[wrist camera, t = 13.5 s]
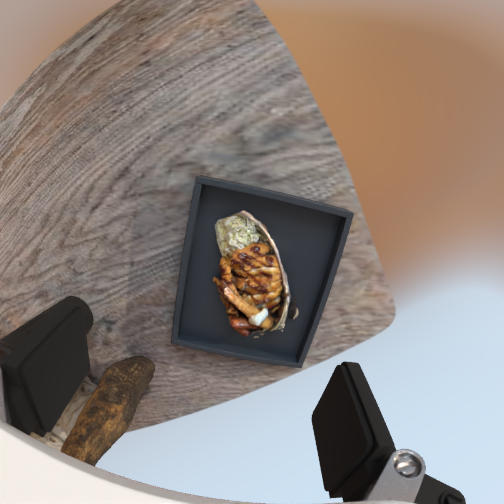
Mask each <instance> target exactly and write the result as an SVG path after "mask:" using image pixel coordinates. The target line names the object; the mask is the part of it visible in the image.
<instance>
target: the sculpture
mask: <svg viewBox="0 0 504 504" xmlns="http://www.w3.org/2000/svg"><path fill="white" fill-rule="evenodd" d="M154 371H155V366H154V364H153V362H152V361H151V360H149V359H147V358H145V357H142V356H133V357H130V358H127V359H125V360H122V361H119V362H117V363H115V364H113V365H111V366H110V367H109V368H108V369H106V371H105V372H104V373H103V375H102V378H101V380H100V381H99V383H98V386H97V387H96V389H95V390H94V392H93V393H92V395H91V397H90V398H89V399H88V401H87V402H86V404H85V405H84V407H83V409H82V411H81V413H80V414H79V416H78V418H77V421H76V423H75V425H74V426H73V428H72V430H71V432H70V433H69V435H68V437H67V438H66V440H65V442H64V444H63V445H62V447H61V451H60V452H62V453H64V454H66V455H68V456H71V457H73V458H75V459H77V460H80V461H82V462H84V463H87V464H89V465H92V466H94V467H95V465H96V463H97V462H98V460H99V459H100V458H101V457H102V456H103V455H104V453H106V452H107V451H108V450H109V449H110V448H111V446H112V445H113V444H114V443H115V442H116V441H117V440H118V439H119V438H120V437H121V436H122V435H123V434H124V433H125V432H126V430H127V429H128V427H129V425H130V423H131V421H132V419H133V416H134V414H135V411H136V408H137V405H138V403H139V402H140V400H141V398H142V396H143V393H144V391H145V389H146V387H147V386H148V384H149V382H150V381H151V379H152V378H153V373H154Z"/></svg>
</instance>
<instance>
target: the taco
mask: <svg viewBox="0 0 504 504" xmlns="http://www.w3.org/2000/svg"><path fill="white" fill-rule="evenodd" d="M215 230H216V237H217V243H218V246H219V249H220V252H221V254H222V258H221V260H220V263H219V269H220V273H221V277H222V281H221V280H219V278H215V277H214V278H213V281H214V283H216V285H217V288H218V292H219V295H220V298H221V300H222V302H223V304H224V305H225V307H226V311H227V314H228V317H229V323H230V325H231V327H232V328H233V329H234V330H235V331H236V332H238V333H239V334H240V335H242V336H244V337H248V336H250V335H251V334H252V333H254V332H260V334H261V335H263V334H264V333H263V334H262V333H261V332H263V331H265V330H266V329H267V330H269V331H273V330H274V329H275V330H280V329H281V328H284V327H285V324H284V323H285V320H286V317H287V314H288V317H289V319H295V318H296V317H297V316H298V313H299V312H298V309H297V307H296V306H295V305H296V304H295V303H296V297H295V296H294V295H292V296H291V294H290V290H289V286H288V282H287V275H286V273H285V271H284V268H283V265H282V263H281V261H280V258H279V250H278V249H277V248H276V245H275V243H274V241H273V239H271V238H270V235H269V233H268V231H267V228H266V226H265V225H264V224H263V223H262V222H261V221H259V220H256V219H255V218H254V217H253V215H251V213H248V212H246V211H241V212H239V213H236V214H234V215H231V216H229V217H226V218H223V219H220V220H218V221H217V223H216V224H215ZM288 308H289V309H288ZM288 310H289V311H288ZM279 317H280V319H279ZM278 319H279V320H278ZM281 331H283V330H281ZM254 338H259V337H258V336H257V337H254Z"/></svg>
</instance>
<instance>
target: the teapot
mask: <svg viewBox="0 0 504 504" xmlns="http://www.w3.org/2000/svg"><path fill="white" fill-rule="evenodd" d="M97 386H98V385H96V384H94V383H92V382H91V381H90V378H89V377H88V376H86V377H85V379H84V380H83V382H82V383H81V385H80V386H79V388H78V389H77V391H76V393H75V394H74V396H73V397H72V399H71V400H70V402H69V404H68V405H67V407H66V408H65V410H64V412H63V413H62V415H61V416H60V418H59V420H58V421H57V423H56V425H55V426H54V428H53V430H52V431H51V432H50V433H48V432H47V433H46V434H45V436H44V438H42V437H41V436H39V435H37V434H35V433H33V432H31V434H30V435H29V436H31V437H32V438H34V439H36V440H38V441H40V442H42V443H44V444H46V445H48V446H50V447H52V448H54V449H56V450H58V451H61V447H62V445H63V444H64V442H65V440H66V438H67V437H68V435H69V433H70V432H71V430H72V428H73V426H74V425H75V423H76V421H77V418H78V416H79V414H80V413H81V411H82V409H83V407H84V405H85V404H86V402H87V401H88V399H89V398H90V397H91V395H92V393H93V392H94V390H95V389H96V387H97Z"/></svg>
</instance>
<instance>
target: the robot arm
mask: <svg viewBox="0 0 504 504" xmlns="http://www.w3.org/2000/svg"><path fill="white" fill-rule="evenodd" d="M89 369H90V363H89V355H88V347H87V337H86V326H85V314H84V311H82V310H81V307H80V306H79V305H77V304H74V303H71V302H68V301H66V302H64V303H63V304H62V305H61V306H60V307H59V308H58V309H56V310H55V311H54V312H53V313H52V314H51V315H50V316H49V317H48V318H47V319H45V320H44V321H43V322H42V323H41V324H40V325H39V326H38V327H37V328H36V329H35V330H34V331H33V332H32V333H31V334H29V335H28V336H27V337H26V338H25V339H24V340H23V341H22V342H21V343H20V344H19V345H18V346H17V347H16V348H15V349H14V350H13V351H12V352H11V353H10V354H9V355H8V356H7V357H6V358H5V359H4V360H3V364H2V365H1V366H0V504H265V503H249V502H239V501H229V500H222V499H214V498H208V497H202V496H196V495H191V494H186V493H181V492H176V491H172V490H168V489H163V488H159V487H156V486H152V485H148V484H144V483H141V482H138V481H134V480H131V479H128V478H125V477H122V476H118V475H116V474H113V473H110V472H107V471H105V470H102V469H99V468H97V467H94V466H92V465H89V464H87V463H84V462H82V461H80V460H77V459H75V458H73V457H71V456H68V455H66V454H64V453H62V452H60V451H58V450H56V449H54V448H52V447H50V446H48V445H46V444H44V443H42V442H40V441H38V440H36V439H34V438H32V437H31V436H29V435H30V434H31V432H33V433H35V434H37V435H39V436H41V437H42V438H44V436H45V434H46V433H47V432H48V433H50V432H51V431H52V430H53V428H54V426H55V425H56V423H57V421H58V420H59V418H60V416H61V415H62V413H63V412H64V410H65V408H66V407H67V405H68V404H69V402H70V400H71V399H72V397H73V396H74V394H75V393H76V391H77V389H78V388H79V386H80V385H81V383H82V382H83V380H84V379H85V377H86V376H87V374H88V372H89ZM312 425H313V430H314V435H315V440H316V446H317V451H318V456H319V462H320V467H321V473H322V478H323V484H324V489H325V490H326V491H329V495H330V498H340V497H342V498H343V502H342V503H327V504H466V502H465V498H464V496H463V495H462V494H461V492H460V491H458V490H456V489H454V488H452V487H450V486H448V485H446V484H444V483H442V482H440V481H438V480H436V479H434V478H432V477H430V476H428V475H427V474H425V470H426V466H425V462H424V460H423V458H422V457H421V456H420V455H419V454H417V453H416V452H414V451H412V450H409V449H400V450H397V451H396V448H395V446H394V442H393V440H392V437H391V435H390V433H389V430H388V428H387V426H386V423H385V421H384V418H383V416H382V414H381V411H380V409H379V407H378V405H377V402H376V400H375V398H374V396H373V394H372V391H371V389H370V387H369V384H368V382H367V380H366V378H365V376H364V373H363V371H362V369H361V367H360V365H359V364H358V363H354V362H343V363H341V365H337V366H336V368H335V370H334V372H333V374H332V376H331V378H330V380H329V382H328V384H327V386H326V388H325V391H324V392H323V394H322V396H321V398H320V400H319V402H318V404H317V406H316V408H315V410H314V411H313V414H312Z"/></svg>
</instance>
